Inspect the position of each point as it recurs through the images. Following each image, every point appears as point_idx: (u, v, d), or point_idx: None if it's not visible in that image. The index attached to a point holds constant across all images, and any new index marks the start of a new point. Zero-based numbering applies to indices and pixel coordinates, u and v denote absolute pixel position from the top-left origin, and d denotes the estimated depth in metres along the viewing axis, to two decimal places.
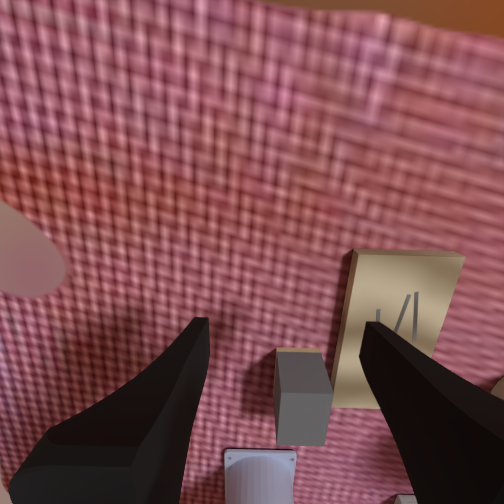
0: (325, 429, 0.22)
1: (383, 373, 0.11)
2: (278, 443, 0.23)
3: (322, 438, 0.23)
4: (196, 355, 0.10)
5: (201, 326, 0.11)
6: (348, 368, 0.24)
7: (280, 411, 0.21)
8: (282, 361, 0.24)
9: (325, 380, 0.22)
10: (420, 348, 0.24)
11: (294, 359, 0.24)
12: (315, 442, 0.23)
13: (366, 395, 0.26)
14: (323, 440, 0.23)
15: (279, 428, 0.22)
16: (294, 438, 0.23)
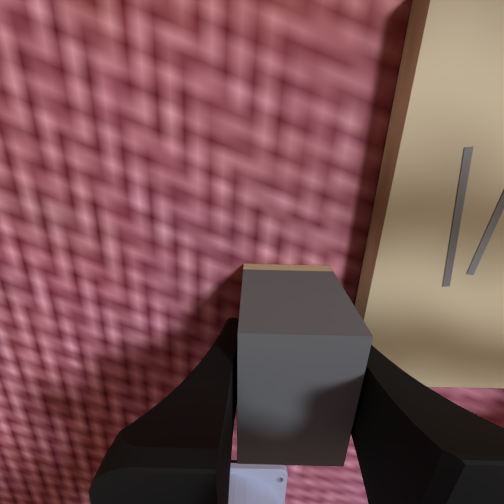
0: (347, 428, 0.09)
1: None
2: (240, 460, 0.10)
3: (340, 448, 0.10)
4: None
5: None
6: (389, 301, 0.12)
7: (239, 384, 0.09)
8: (251, 282, 0.11)
9: (347, 311, 0.09)
10: None
11: (278, 279, 0.11)
12: (323, 458, 0.10)
13: (421, 360, 0.13)
14: (342, 453, 0.10)
15: (240, 426, 0.10)
16: (275, 448, 0.10)
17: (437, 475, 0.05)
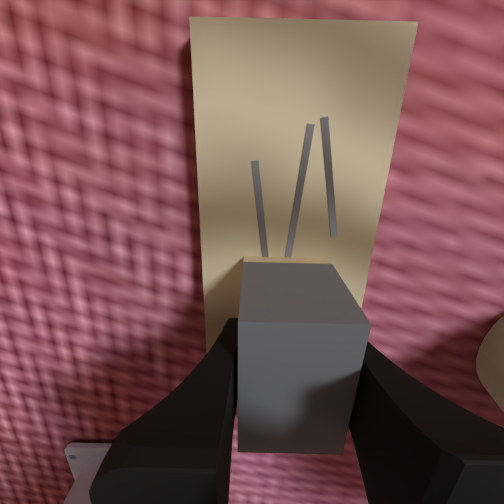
0: (346, 416, 0.10)
1: None
2: (241, 448, 0.10)
3: (339, 436, 0.10)
4: (237, 356, 0.10)
5: None
6: (222, 293, 0.14)
7: (239, 372, 0.09)
8: (251, 274, 0.11)
9: (346, 301, 0.09)
10: (347, 251, 0.13)
11: (277, 271, 0.11)
12: (322, 446, 0.10)
13: None
14: (340, 441, 0.10)
15: (240, 414, 0.10)
16: (275, 437, 0.10)
17: (438, 475, 0.05)
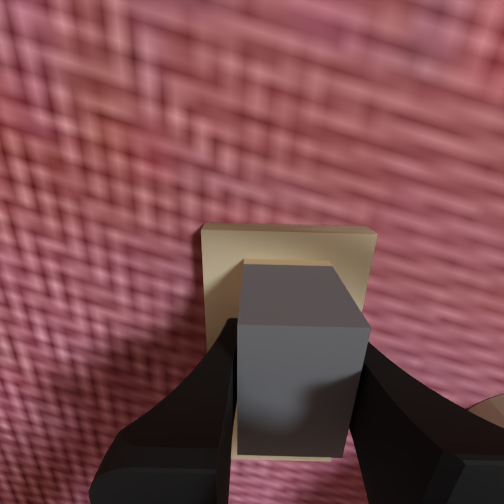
0: (346, 419, 0.10)
1: None
2: (240, 451, 0.10)
3: (338, 440, 0.10)
4: None
5: None
6: None
7: (239, 375, 0.09)
8: (251, 276, 0.11)
9: (346, 303, 0.09)
10: None
11: (277, 274, 0.11)
12: (322, 450, 0.10)
13: None
14: (340, 445, 0.10)
15: (240, 417, 0.10)
16: (274, 439, 0.10)
17: (438, 475, 0.05)
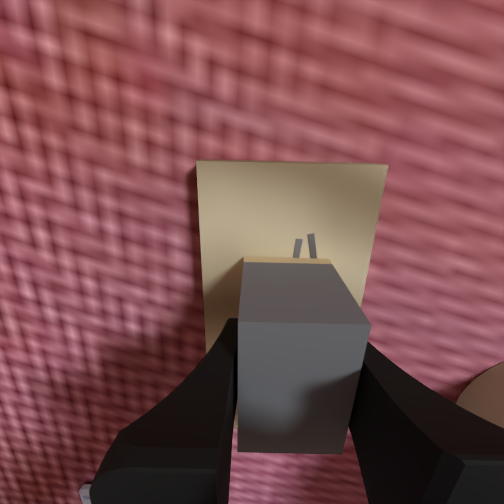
0: (346, 416, 0.10)
1: None
2: (241, 448, 0.10)
3: (339, 436, 0.10)
4: (237, 356, 0.10)
5: None
6: None
7: (240, 372, 0.09)
8: (252, 274, 0.11)
9: (346, 301, 0.09)
10: None
11: (277, 271, 0.11)
12: (322, 446, 0.10)
13: None
14: (340, 441, 0.10)
15: (240, 414, 0.10)
16: (274, 436, 0.10)
17: (438, 475, 0.05)
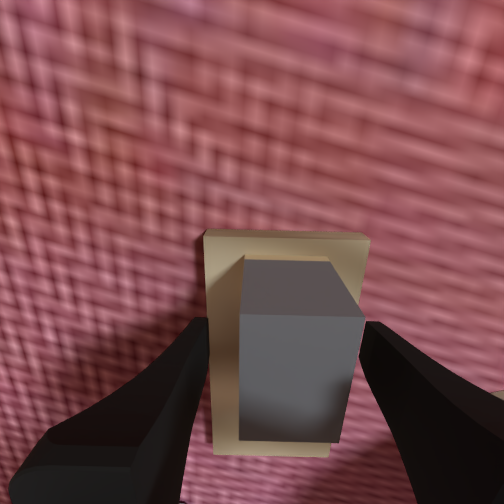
0: (342, 406, 0.10)
1: (383, 373, 0.11)
2: (242, 437, 0.11)
3: (335, 425, 0.10)
4: (196, 355, 0.10)
5: (201, 326, 0.11)
6: (226, 403, 0.17)
7: (241, 363, 0.09)
8: (252, 270, 0.12)
9: (342, 295, 0.10)
10: None
11: (277, 268, 0.12)
12: (320, 435, 0.11)
13: None
14: (337, 430, 0.11)
15: (241, 404, 0.10)
16: (274, 425, 0.11)
17: None
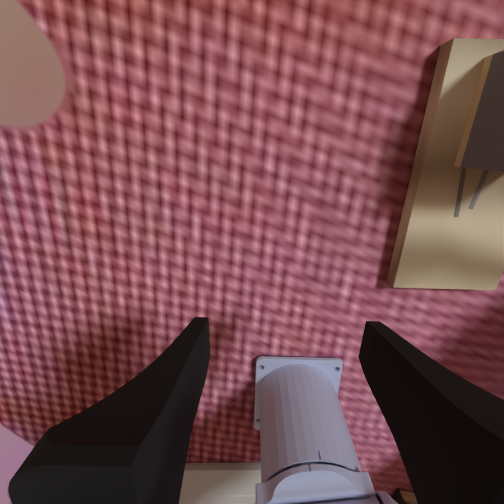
0: None
1: (383, 373, 0.11)
2: None
3: None
4: (196, 355, 0.10)
5: (201, 326, 0.11)
6: (421, 227, 0.19)
7: None
8: None
9: None
10: None
11: None
12: None
13: (439, 269, 0.21)
14: None
15: None
16: None
17: None
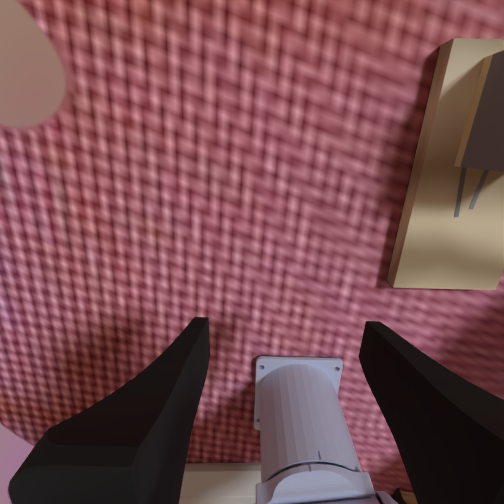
0: None
1: (383, 373, 0.11)
2: None
3: None
4: (196, 355, 0.10)
5: (201, 326, 0.11)
6: (421, 227, 0.19)
7: None
8: None
9: None
10: None
11: None
12: None
13: (439, 269, 0.21)
14: None
15: None
16: None
17: None
